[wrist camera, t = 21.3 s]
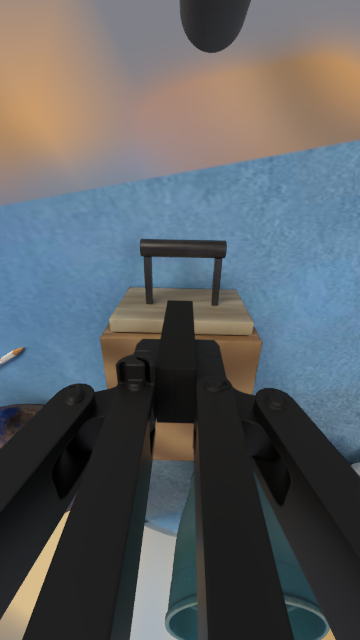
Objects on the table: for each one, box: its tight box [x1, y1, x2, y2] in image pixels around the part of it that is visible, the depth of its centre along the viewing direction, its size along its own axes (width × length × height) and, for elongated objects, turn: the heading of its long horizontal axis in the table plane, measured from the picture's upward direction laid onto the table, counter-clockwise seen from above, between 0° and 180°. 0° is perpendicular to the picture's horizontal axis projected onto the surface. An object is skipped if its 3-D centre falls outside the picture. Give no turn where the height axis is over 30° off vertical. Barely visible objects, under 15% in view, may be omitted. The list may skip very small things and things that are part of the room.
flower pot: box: [165, 471, 329, 640], centre depth 35 cm, size 18×18×17 cm
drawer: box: [109, 239, 254, 336], centre depth 25 cm, size 19×12×8 cm, turn 179°
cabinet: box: [100, 323, 262, 461], centre depth 27 cm, size 15×13×10 cm
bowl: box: [0, 404, 76, 513], centre depth 34 cm, size 18×18×10 cm
